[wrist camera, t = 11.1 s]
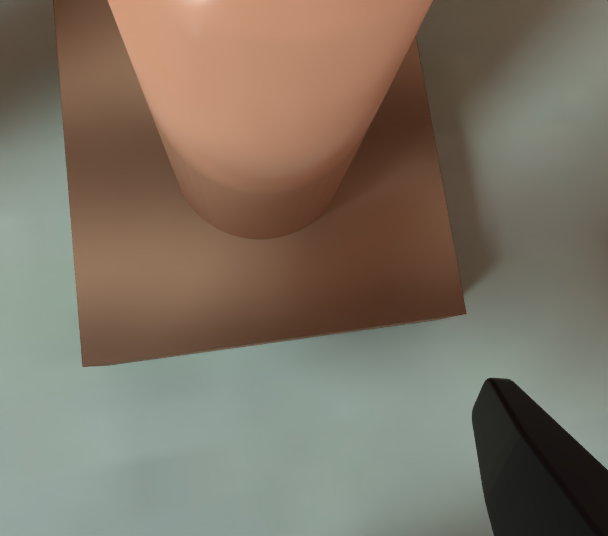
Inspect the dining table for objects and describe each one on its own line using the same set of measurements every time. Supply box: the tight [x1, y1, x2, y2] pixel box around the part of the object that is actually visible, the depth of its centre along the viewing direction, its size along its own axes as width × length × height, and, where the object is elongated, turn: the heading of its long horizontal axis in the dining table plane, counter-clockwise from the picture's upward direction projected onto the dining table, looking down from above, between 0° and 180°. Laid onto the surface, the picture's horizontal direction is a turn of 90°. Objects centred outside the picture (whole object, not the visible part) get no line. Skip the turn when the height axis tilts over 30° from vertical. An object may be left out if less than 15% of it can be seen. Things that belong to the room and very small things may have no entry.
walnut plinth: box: [53, 0, 466, 367], centre depth 20 cm, size 12×12×3 cm
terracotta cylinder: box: [108, 0, 433, 239], centre depth 13 cm, size 6×6×11 cm
